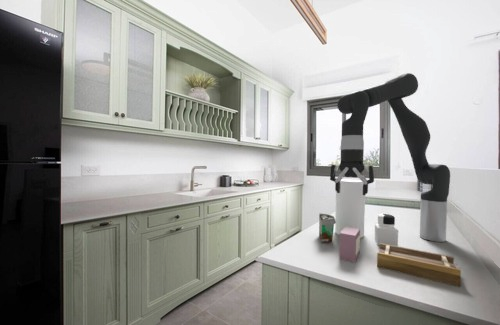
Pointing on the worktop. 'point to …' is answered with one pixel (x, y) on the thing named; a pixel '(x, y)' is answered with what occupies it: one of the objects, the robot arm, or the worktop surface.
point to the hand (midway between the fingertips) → (350, 193)
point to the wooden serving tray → (419, 263)
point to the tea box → (349, 244)
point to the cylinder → (350, 206)
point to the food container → (326, 227)
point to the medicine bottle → (386, 230)
